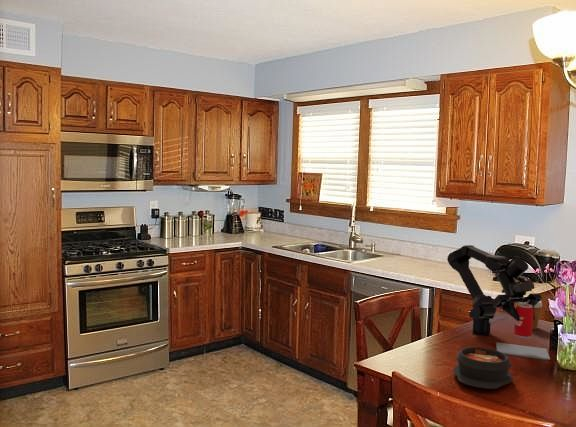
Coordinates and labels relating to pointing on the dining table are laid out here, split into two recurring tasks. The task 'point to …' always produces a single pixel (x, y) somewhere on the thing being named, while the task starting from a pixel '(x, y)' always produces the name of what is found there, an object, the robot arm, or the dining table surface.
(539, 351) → the slate mat
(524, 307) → the beverage can
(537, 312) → the disposable coffee cup
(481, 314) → the robot arm
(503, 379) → the casserole
